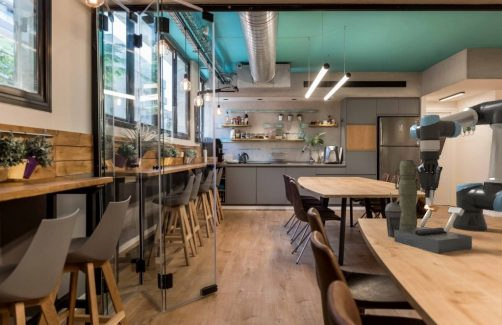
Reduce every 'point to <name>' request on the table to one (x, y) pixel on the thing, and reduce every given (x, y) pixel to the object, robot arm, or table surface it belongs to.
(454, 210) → the white toy hammer
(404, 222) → the thermos
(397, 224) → the beverage cup
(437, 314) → the table surface
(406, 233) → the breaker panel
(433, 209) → the orange mallet
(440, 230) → the cord bundle
